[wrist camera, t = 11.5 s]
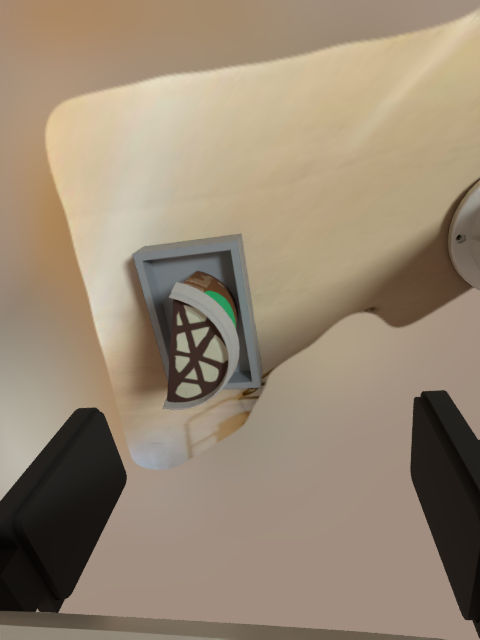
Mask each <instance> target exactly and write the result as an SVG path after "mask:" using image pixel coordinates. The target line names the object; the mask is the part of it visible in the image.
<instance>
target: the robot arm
mask: <svg viewBox="0 0 480 640" xmlns="http://www.w3.org/2000/svg"><path fill="white" fill-rule="evenodd" d="M458 235H460V237H459V238H458V239H456V237H457V236H458ZM448 252H449V256H450V259H451V262H452V265H453V266H454V268H455V270H456V271H457V273H458V274H459V275H460V276H461V277H462V278H463V279H464V280H465V281H466V282H467V283H469V284H470V285H472V286H473V287H474V288H477V289H478V290H480V180H479V181H478V182H477V183H476V184H475V185H474V186H473V187H472V188H471V189H470V190H469V191H468V193H467V194H466V195H465V197H464V198H463V199H462V201H461V202H460V204H459V206H458V208H457V209H456V211H455V213H454V215H453V218H452V221H451V224H450V227H449V234H448ZM413 408H414V409H413V427H412V447H411V477H412V481H413V484H414V487H415V490H416V493H417V495H418V498H419V501H420V503H421V506H422V509H423V512H424V514H425V517H426V520H427V522H428V525H429V528H430V530H431V533H432V536H433V539H434V541H435V544H436V547H437V549H438V552H439V555H440V557H441V560H442V563H443V565H444V568H445V571H446V573H447V576H448V579H449V582H450V584H451V587H452V590H453V592H454V595H455V598H456V601H457V603H458V606H459V609H460V611H461V614H462V616H463V617H464V619H465V620H473V623H474V626H475V628H476V631H477V633H478V636H479V638H480V440H478V439H477V437H476V436H475V434H474V433H473V432H472V430H471V428H470V427H469V426H468V424H467V422H466V421H465V419H464V417H463V416H462V415H461V413H460V411H459V410H458V408H457V407H456V405H455V404H454V402H453V401H452V399H451V398H450V396H449V394H448V393H447V392H446V391H444V390H441V391H423V392H422V393H421V397H415V398H414V407H413ZM126 480H127V475H126V471H125V469H124V466H123V463H122V460H121V458H120V455H119V453H118V450H117V447H116V445H115V442H114V439H113V437H112V434H111V431H110V429H109V426H108V423H107V421H106V418H105V416H104V414H103V413H102V412H100V411H99V410H98V409H97V408H79V409H77V410H76V411H74V413H73V414H72V415H71V416H70V417H69V419H68V420H67V421H66V422H65V423H64V425H63V426H62V427H61V428H60V430H59V431H58V432H57V433H56V435H55V436H54V437H53V438H52V439H51V440H50V442H49V443H48V444H47V445H46V447H45V448H44V449H43V450H42V451H41V453H40V454H39V455H38V456H37V457H36V459H35V460H34V461H33V462H32V464H31V465H30V466H29V467H28V468H27V469H26V471H25V472H24V473H23V474H22V476H21V477H20V478H19V479H18V480H17V482H16V483H15V484H14V485H13V486H12V488H11V489H10V490H9V491H8V493H7V494H6V495H5V496H4V497H3V499H2V500H1V501H0V640H443V639H437V638H426V637H415V636H403V635H391V634H378V633H368V632H356V631H341V630H326V629H310V628H296V627H280V626H266V625H250V624H233V623H219V622H202V621H186V620H169V619H152V618H136V617H118V616H100V615H81V614H62V613H58V612H59V610H60V608H61V606H62V604H63V602H64V600H65V599H66V598H68V597H69V596H70V595H71V594H72V592H73V590H74V588H75V586H76V584H77V582H78V580H79V578H80V576H81V574H82V572H83V570H84V568H85V566H86V564H87V562H88V560H89V558H90V556H91V554H92V552H93V549H94V548H95V546H96V544H97V541H98V539H99V537H100V535H101V533H102V531H103V529H104V527H105V525H106V523H107V521H108V519H109V517H110V515H111V513H112V511H113V509H114V507H115V505H116V503H117V501H118V499H119V497H120V495H121V493H122V490H123V489H124V487H125V484H126ZM37 608H38V610H39V611H40V612H36V610H37ZM44 612H52V613H44Z"/></svg>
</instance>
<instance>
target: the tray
mask: <svg viewBox="0 0 480 640" xmlns="http://www.w3.org/2000/svg"><path fill="white" fill-rule="evenodd" d="M133 258H134V261H135V265H136V268H137V272H138V276H139V279H140V283H141V286H142V290H143V294H144V297H145V301H146V304H147V308H148V312H149V315H150V319H151V323H152V326H153V330H154V333H155V337H156V341H157V344H158V348H159V351H160V355H161V359H162V362H163V366H164V369H165V373H166V377H167V380H168V377H169V350H170V340H171V328H172V315H173V299H172V298H169V296H170V294H171V291H172V289H173V287H174V285H175V284H176V282H178V283H184V282H185V281H186V280H187V279H188V278H189V277H190V276H191V275H193V274H194V273H195V272H196V271H201V272H205V273H207V274H210V275H212V276H214V277H215V278H217V279H219V280H220V281H221V282H222V283H224V284H225V286H226V287H227V288H228V289H229V290H230V292H231V293H232V295H233V297H234V299H235V301H236V305H237V310H238V317H237V325H236V332H237V336H238V340H239V348H240V349H239V359H238V363H237V367H236V369H235V371H234V373H233V375H232V377H231V378H230V379H229V381H228V382H227V384H226V385H225V386H224V388H223V389H240V388H258V387H261V379H262V367H261V361H260V354H259V347H258V341H257V334H256V327H255V321H254V314H253V308H252V301H251V294H250V288H249V281H248V274H247V268H246V261H245V254H244V248H243V241H242V234H237V235H229V236H221V237H214V238H206V239H198V240H191V241H183V242H176V243H168V244H160V245H153V246H145V247H142V248H141V249H139V250H138V251H136V252H135V253H133Z"/></svg>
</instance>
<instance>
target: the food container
mask: <svg viewBox="0 0 480 640" xmlns="http://www.w3.org/2000/svg"><path fill="white" fill-rule="evenodd" d="M169 298H172V299H173V315H172V328H171V340H170V350H169V377H168V394H167V399H166V401H165V404H164V406H163V409H171V410H181V409H188V408H192V407H196V406H199V405H201V404H203V403H205V402H207V401H208V400H210V399H211V398H213V397H214V396H216V395H217V394H218V393H219V392H220V391H221V390H222V389H223V388H224V386H225V385H226V384H227V382H228V381H229V379H230V378H231V377H232V375H233V373H234V371H235V369H236V367H237V363H238V359H239V349H240V348H239V340H238V336H237V332H236V325H237V317H238V310H237V305H236V301H235V299H234V297H233V295H232V293H231V292H230V290H229V289H228V288H227V287H226V286H225V284H224V283H222V282H221V281H220V280H219V279H217V278H215V277H214V276H212V275H210V274H207V273H205V272H201V271H196V272H195V273H194V274H193V275H191V276H190V277H189V278H188V279H187V280H186V281H185V282H184V283H178V282H176V284H175V285H174V287H173V289H172V291H171V294H170V296H169Z"/></svg>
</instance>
